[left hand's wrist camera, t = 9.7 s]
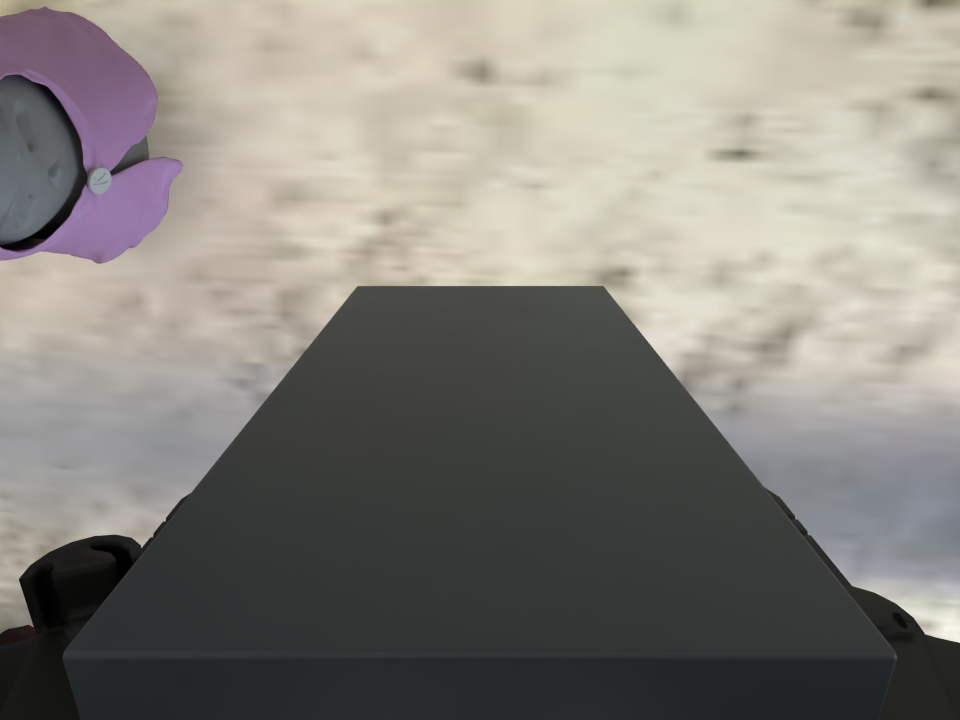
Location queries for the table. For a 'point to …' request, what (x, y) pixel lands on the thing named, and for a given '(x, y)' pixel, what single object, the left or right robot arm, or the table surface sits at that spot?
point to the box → (479, 542)
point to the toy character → (75, 141)
